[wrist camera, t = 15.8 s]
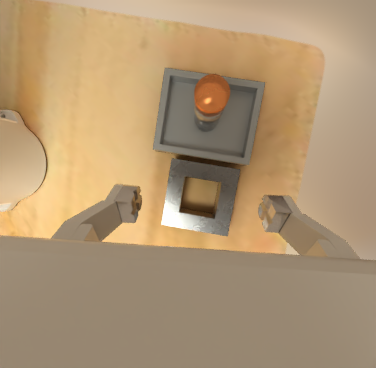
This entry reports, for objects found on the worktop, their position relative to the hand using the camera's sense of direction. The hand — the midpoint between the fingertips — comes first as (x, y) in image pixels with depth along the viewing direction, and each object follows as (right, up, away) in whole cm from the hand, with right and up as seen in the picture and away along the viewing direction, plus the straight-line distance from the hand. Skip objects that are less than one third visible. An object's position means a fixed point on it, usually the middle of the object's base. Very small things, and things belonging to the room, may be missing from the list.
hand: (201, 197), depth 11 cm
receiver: (+1, -1, +19) cm, 19 cm away
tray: (+2, +12, +18) cm, 22 cm away
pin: (+2, +12, +18) cm, 21 cm away
